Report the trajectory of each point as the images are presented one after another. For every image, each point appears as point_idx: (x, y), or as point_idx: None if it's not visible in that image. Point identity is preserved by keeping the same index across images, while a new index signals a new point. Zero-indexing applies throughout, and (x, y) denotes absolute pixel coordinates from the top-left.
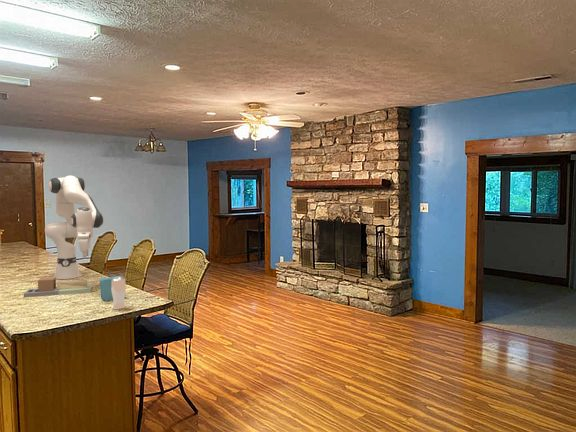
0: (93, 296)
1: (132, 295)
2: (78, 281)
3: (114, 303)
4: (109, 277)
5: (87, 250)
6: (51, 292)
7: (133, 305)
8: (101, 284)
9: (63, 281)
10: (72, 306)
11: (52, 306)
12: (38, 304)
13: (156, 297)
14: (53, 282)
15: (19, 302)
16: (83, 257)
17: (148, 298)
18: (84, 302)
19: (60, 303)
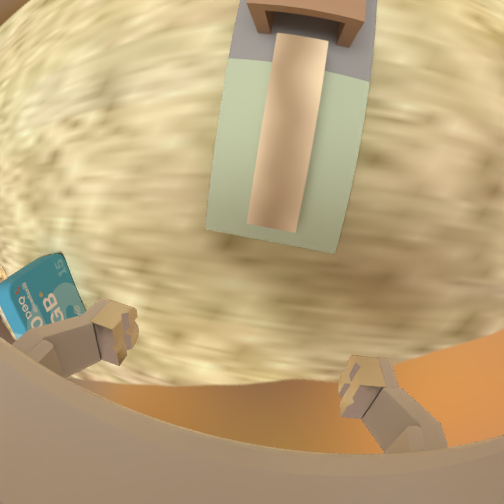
0: (114, 230)
1: None
2: (262, 174)
3: None
4: (20, 322)
5: (391, 447)
6: (235, 27)
7: None
8: (12, 277)
9: (321, 75)
10: (18, 159)
11: (36, 92)
12: (79, 31)
13: (74, 376)
14: (261, 13)
15: None
16: (96, 306)
17: None
18: (44, 194)
19: (56, 108)
